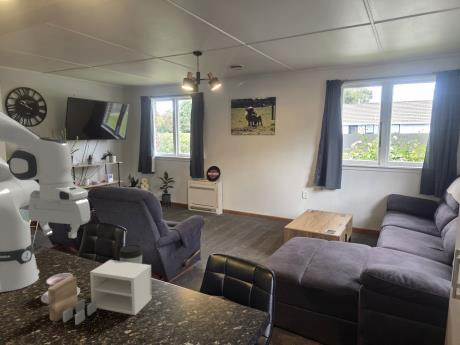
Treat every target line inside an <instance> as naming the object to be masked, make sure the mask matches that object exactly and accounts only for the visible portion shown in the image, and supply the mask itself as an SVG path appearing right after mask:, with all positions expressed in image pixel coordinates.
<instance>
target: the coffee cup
mask: <svg viewBox="0 0 460 345" xmlns="http://www.w3.org/2000/svg"><path fill="white" fill-rule="evenodd" d="M143 254H144V251H143V248H142V246H141V245H139V244H127V245H124V246H122V247H121V248H120V249H119V251H118V257H119V261H123V262H131V263H138V264H143Z"/></svg>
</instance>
